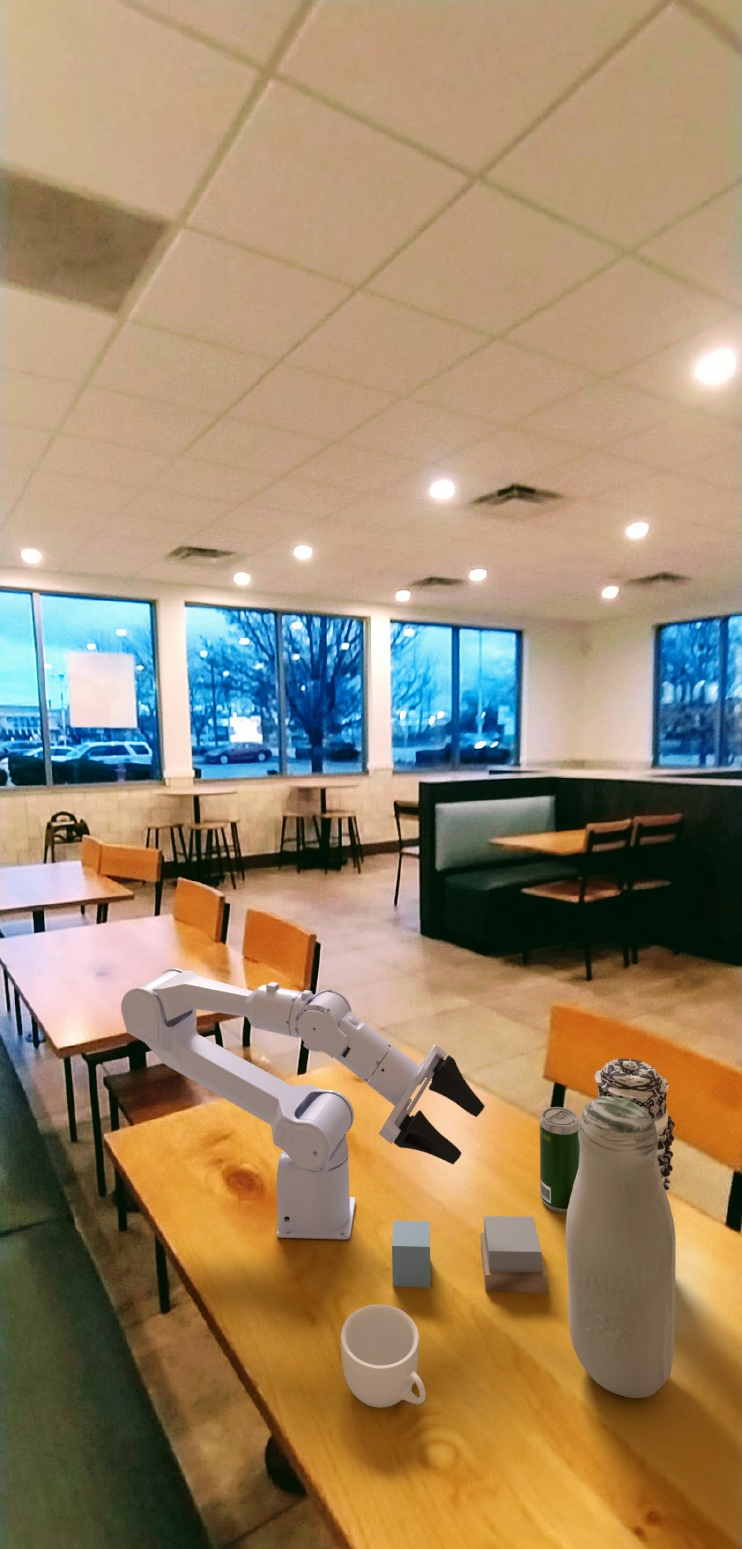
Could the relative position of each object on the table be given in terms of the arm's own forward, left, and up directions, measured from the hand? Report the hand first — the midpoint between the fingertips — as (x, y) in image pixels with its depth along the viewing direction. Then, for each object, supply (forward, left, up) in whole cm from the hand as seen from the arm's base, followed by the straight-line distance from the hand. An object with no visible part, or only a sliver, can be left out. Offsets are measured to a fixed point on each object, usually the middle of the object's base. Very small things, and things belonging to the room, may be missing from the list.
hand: (469, 1134), depth 90 cm
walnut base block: (+5, -3, -16) cm, 16 cm away
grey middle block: (+5, -3, -13) cm, 14 cm away
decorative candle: (+19, -3, -15) cm, 24 cm away
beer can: (+13, +10, -15) cm, 22 cm away
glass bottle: (+14, -17, -15) cm, 27 cm away
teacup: (-9, -20, -15) cm, 27 cm away
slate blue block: (-7, -4, -15) cm, 17 cm away
